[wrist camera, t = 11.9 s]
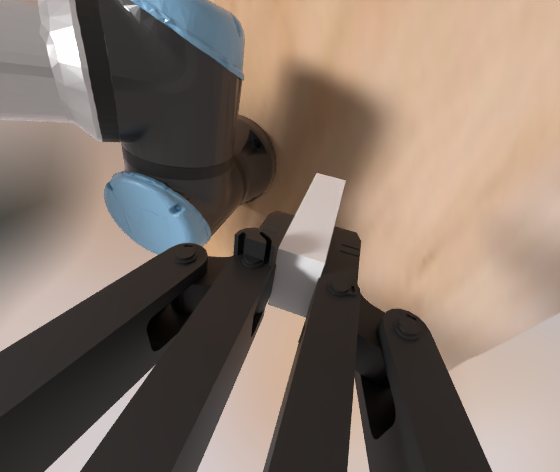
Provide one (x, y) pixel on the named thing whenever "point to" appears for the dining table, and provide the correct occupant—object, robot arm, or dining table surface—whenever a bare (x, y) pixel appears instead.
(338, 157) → the dining table surface
